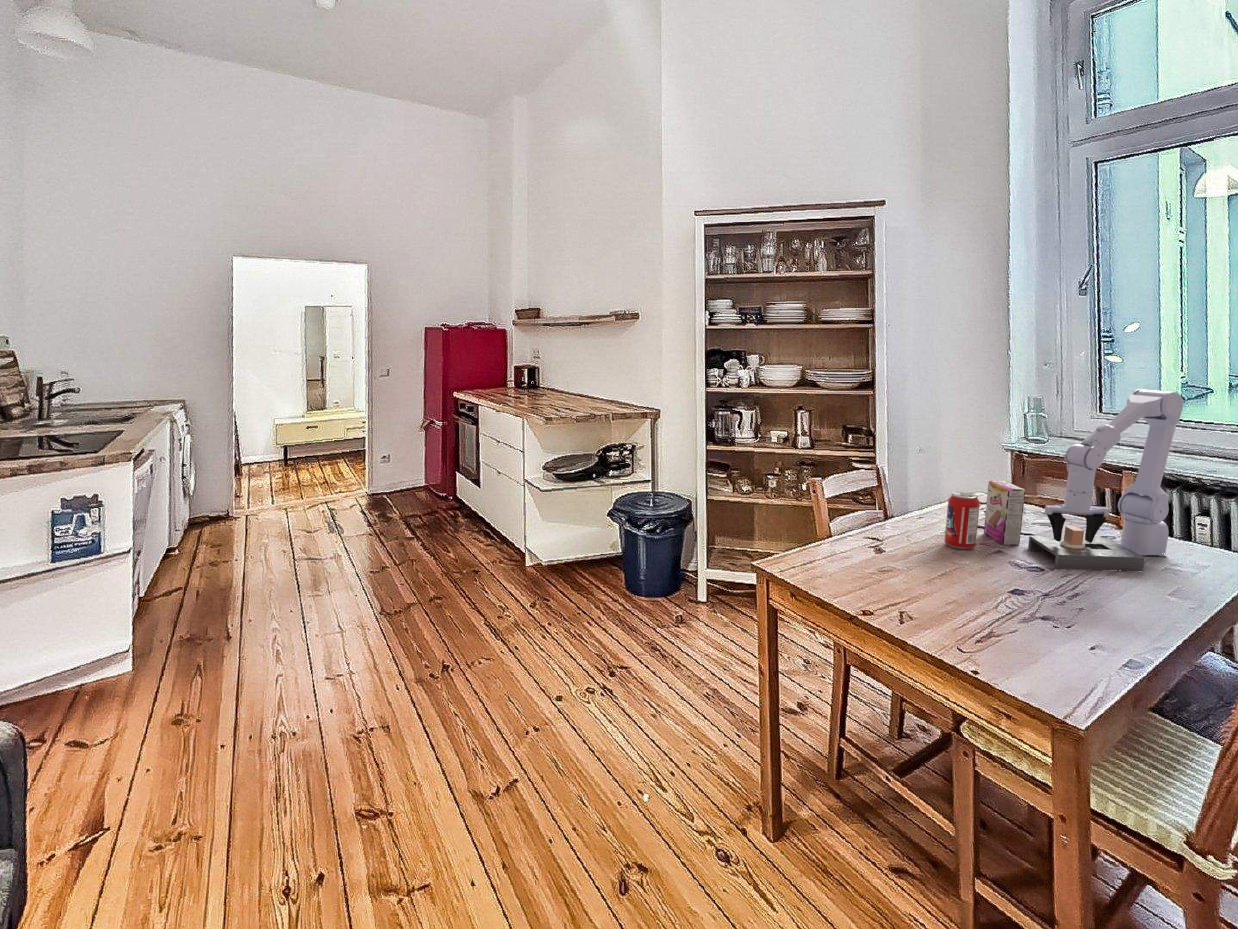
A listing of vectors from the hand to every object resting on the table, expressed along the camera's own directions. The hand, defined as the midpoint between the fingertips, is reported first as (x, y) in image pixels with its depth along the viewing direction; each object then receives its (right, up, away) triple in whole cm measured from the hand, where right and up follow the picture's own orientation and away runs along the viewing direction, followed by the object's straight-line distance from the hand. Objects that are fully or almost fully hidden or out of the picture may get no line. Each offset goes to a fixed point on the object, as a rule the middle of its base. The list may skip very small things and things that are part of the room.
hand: (1072, 540), depth 176 cm
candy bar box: (-9, -2, +18) cm, 20 cm away
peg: (0, -4, +1) cm, 4 cm away
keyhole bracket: (+3, -5, +1) cm, 6 cm away
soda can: (-24, -3, +12) cm, 27 cm away
